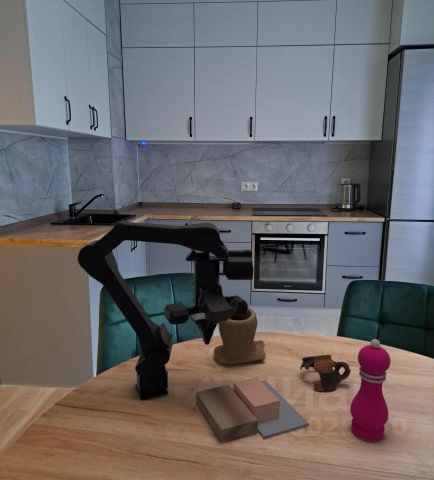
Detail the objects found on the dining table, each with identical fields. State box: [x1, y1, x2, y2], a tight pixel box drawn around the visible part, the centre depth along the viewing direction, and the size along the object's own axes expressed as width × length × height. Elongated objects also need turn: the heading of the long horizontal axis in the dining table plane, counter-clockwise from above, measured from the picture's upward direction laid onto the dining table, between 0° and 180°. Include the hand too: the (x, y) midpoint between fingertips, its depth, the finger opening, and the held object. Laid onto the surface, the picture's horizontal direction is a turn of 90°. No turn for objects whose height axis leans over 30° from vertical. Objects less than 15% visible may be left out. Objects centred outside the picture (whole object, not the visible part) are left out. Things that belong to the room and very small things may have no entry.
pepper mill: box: [349, 338, 391, 442], centre depth 79 cm, size 7×7×20 cm
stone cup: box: [213, 306, 266, 365], centre depth 109 cm, size 15×12×15 cm
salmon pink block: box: [233, 376, 280, 423], centre depth 87 cm, size 4×10×6 cm
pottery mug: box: [299, 353, 352, 392], centre depth 99 cm, size 12×10×8 cm
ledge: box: [195, 384, 259, 444], centre depth 85 cm, size 8×14×3 cm, turn 23°
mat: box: [231, 379, 310, 440], centre depth 88 cm, size 11×18×1 cm, turn 23°
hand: (206, 344), depth 92 cm, fingers closed
